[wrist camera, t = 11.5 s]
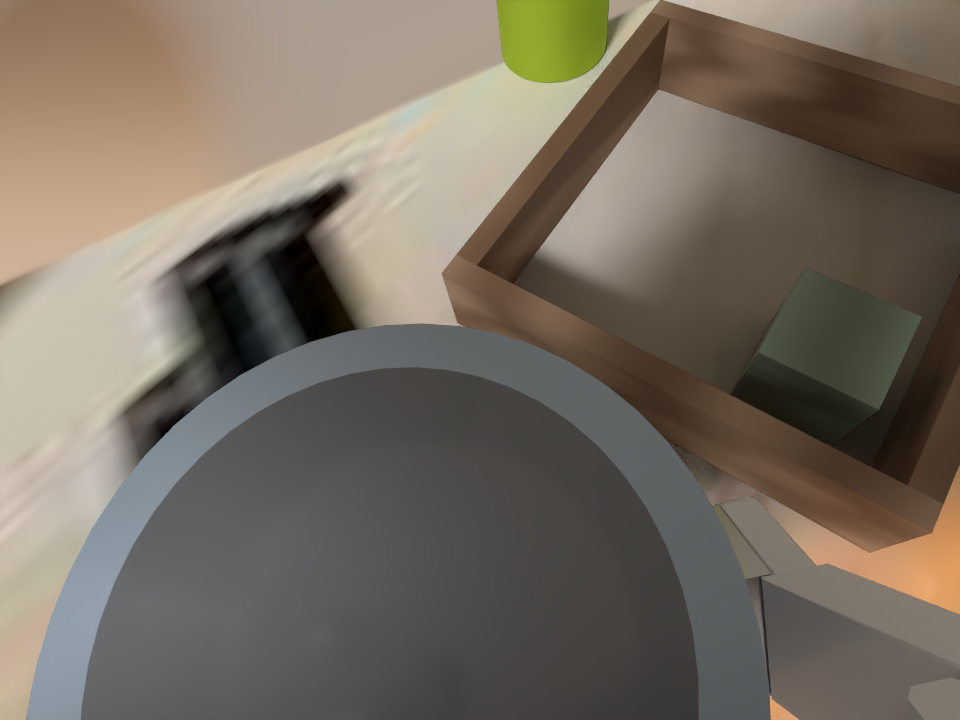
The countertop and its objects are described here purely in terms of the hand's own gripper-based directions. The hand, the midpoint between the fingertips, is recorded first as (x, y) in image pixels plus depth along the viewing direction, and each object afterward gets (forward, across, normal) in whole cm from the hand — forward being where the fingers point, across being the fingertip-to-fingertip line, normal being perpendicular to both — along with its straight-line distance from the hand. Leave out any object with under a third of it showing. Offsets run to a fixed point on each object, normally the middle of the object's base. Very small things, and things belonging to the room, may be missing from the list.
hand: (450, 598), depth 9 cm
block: (+15, -13, +5) cm, 20 cm away
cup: (+3, 0, +4) cm, 5 cm away
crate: (+19, -13, +1) cm, 23 cm away
